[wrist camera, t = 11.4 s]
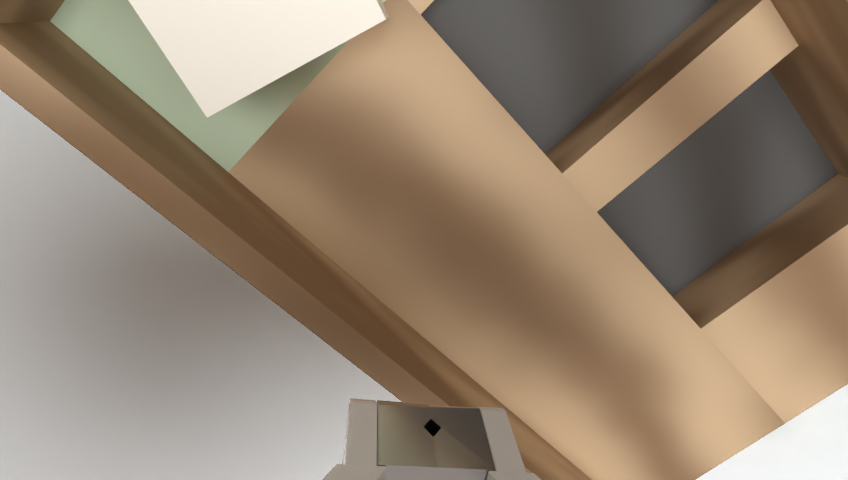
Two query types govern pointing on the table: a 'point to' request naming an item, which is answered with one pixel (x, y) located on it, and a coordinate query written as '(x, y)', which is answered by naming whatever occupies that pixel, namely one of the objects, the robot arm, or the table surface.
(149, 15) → the block
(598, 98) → the box
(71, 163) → the table surface
